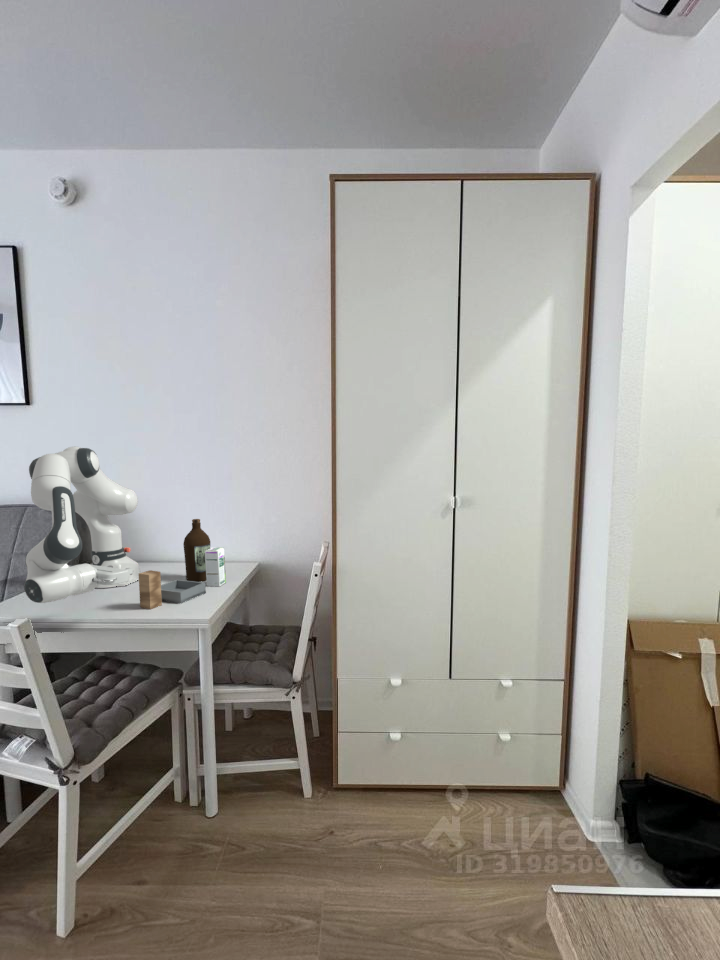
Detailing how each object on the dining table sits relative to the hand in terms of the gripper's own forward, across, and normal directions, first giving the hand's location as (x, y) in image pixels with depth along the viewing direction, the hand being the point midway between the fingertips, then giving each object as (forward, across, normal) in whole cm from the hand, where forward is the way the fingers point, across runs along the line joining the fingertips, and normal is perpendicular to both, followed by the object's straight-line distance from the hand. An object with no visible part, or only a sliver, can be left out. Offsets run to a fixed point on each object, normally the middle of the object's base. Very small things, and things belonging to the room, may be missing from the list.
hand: (121, 569), depth 182 cm
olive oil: (+46, +11, +15) cm, 50 cm away
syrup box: (+43, -1, +16) cm, 46 cm away
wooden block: (+12, 0, +16) cm, 20 cm away
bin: (+25, 0, +16) cm, 29 cm away
